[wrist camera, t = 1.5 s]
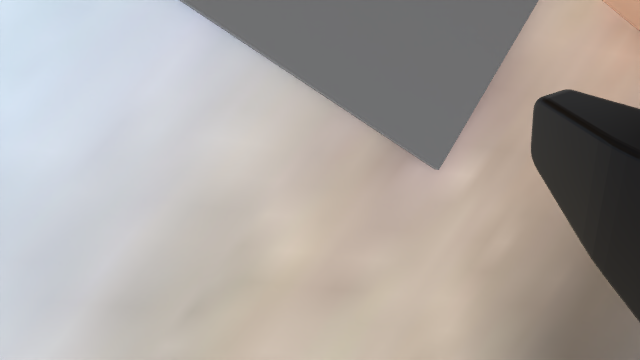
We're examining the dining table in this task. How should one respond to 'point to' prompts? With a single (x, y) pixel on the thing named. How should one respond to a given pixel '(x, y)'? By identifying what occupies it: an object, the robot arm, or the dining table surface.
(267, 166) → the dining table surface
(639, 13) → the terracotta block
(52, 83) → the dining table surface
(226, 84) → the dining table surface
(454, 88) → the rubber mat
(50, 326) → the dining table surface
